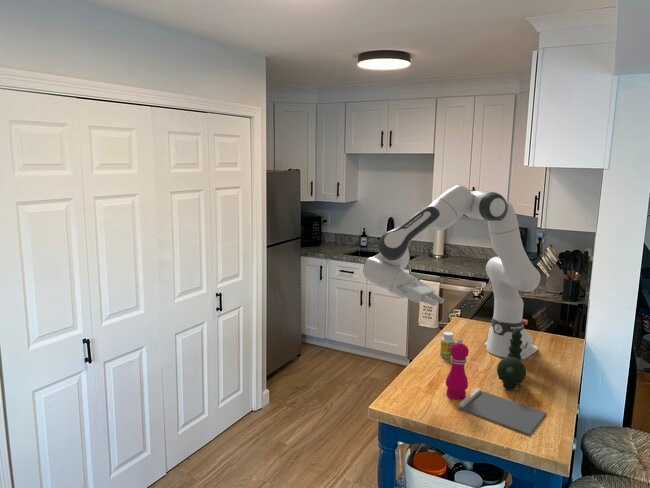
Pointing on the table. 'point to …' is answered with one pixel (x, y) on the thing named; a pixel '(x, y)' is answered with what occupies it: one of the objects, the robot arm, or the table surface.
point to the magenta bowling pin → (457, 371)
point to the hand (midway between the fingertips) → (439, 302)
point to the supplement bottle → (446, 344)
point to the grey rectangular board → (504, 412)
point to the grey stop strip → (470, 397)
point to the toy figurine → (512, 364)
